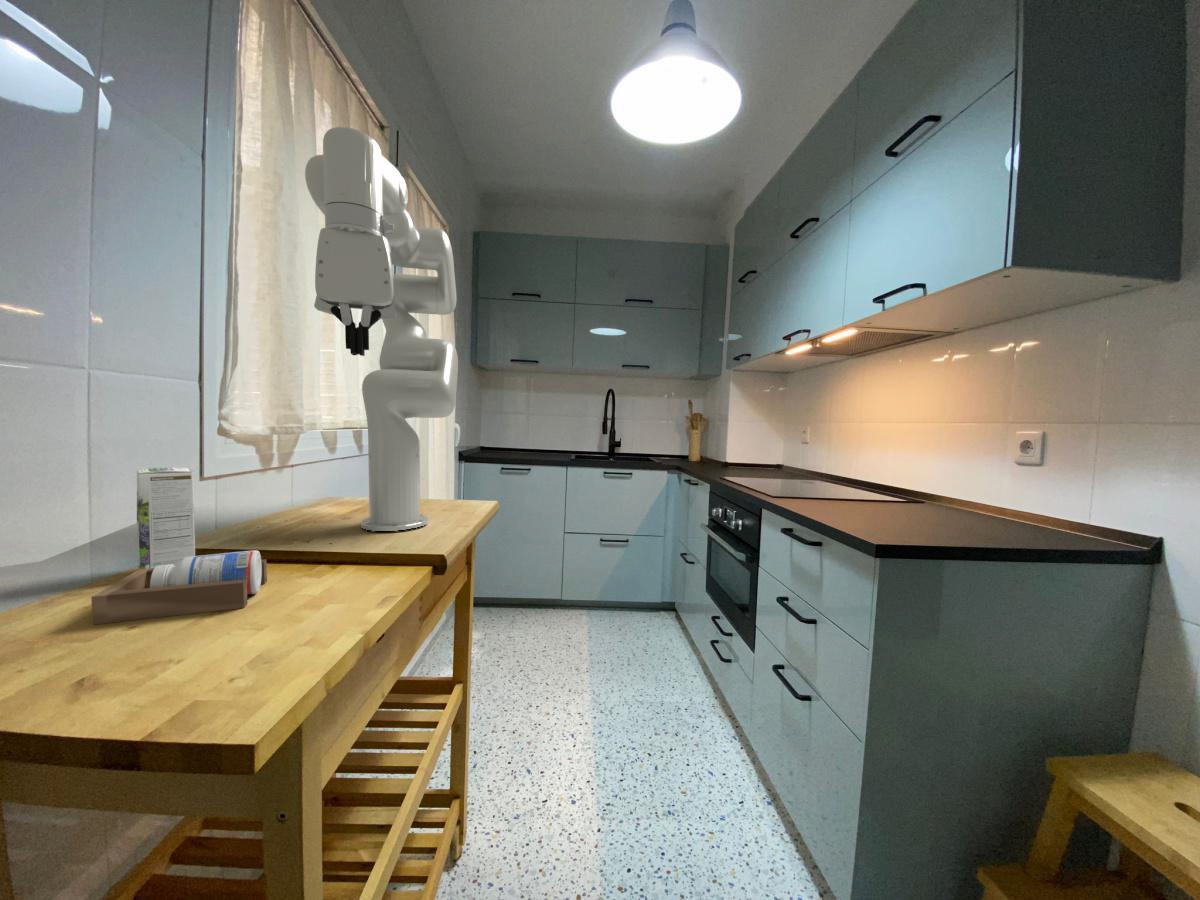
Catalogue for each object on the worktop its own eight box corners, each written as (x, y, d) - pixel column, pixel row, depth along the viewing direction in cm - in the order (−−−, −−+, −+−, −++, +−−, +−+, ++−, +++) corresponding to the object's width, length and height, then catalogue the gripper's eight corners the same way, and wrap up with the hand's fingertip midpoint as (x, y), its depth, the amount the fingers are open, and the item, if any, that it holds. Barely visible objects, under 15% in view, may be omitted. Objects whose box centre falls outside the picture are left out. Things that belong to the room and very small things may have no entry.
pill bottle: (262, 590, 61) (164, 603, 57) (262, 549, 62) (165, 558, 57) (254, 596, 56) (146, 610, 52) (254, 550, 57) (148, 560, 52)
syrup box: (137, 570, 66) (132, 468, 65) (192, 561, 71) (188, 466, 70) (140, 580, 62) (135, 472, 61) (198, 570, 67) (194, 469, 66)
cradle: (140, 592, 58) (139, 569, 58) (267, 581, 63) (266, 559, 63) (92, 624, 49) (91, 596, 49) (244, 607, 54) (243, 582, 54)
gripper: (410, 242, 74) (411, 359, 76) (300, 227, 69) (304, 353, 70) (410, 226, 67) (411, 355, 69) (288, 207, 62) (293, 348, 63)
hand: (357, 354), depth 70 cm, fingers closed
